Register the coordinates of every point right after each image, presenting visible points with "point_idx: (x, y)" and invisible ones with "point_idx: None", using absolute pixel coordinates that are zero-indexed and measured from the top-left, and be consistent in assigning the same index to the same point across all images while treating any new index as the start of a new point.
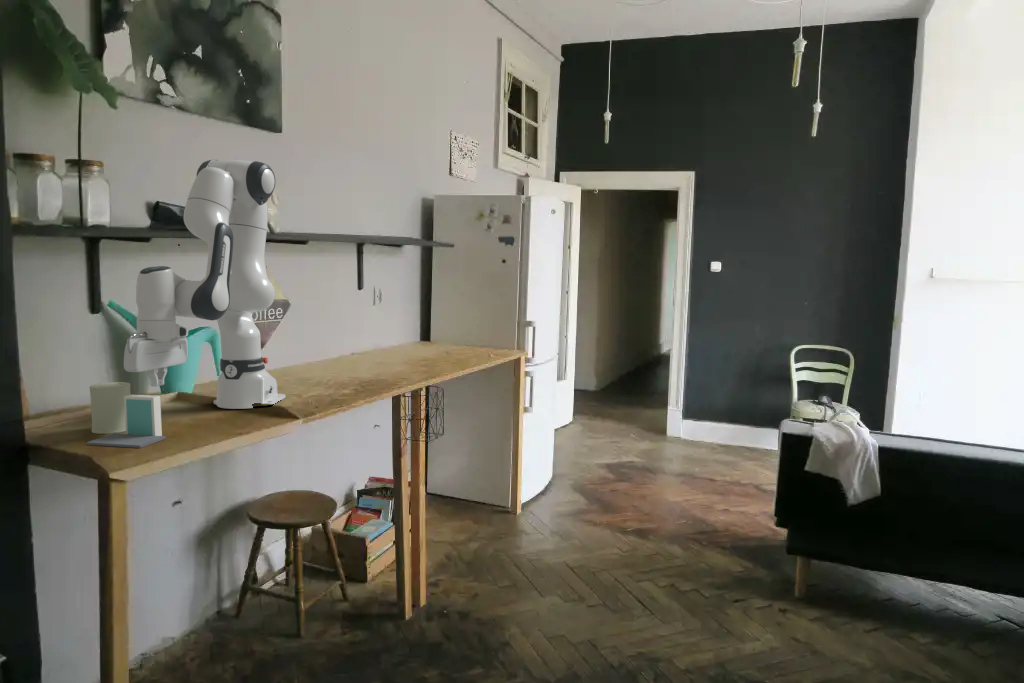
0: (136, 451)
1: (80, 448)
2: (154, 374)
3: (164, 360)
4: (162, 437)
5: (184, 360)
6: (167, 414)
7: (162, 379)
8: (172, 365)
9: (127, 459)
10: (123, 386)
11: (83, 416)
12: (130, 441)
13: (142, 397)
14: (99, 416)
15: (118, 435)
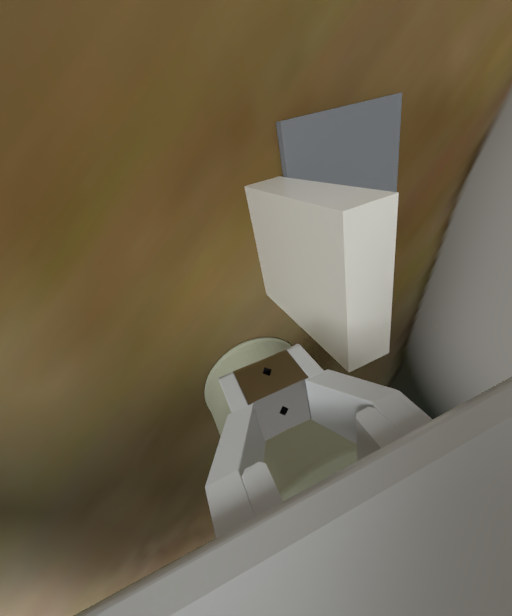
0: (427, 67)
1: (413, 257)
2: (387, 387)
3: (395, 595)
4: (297, 117)
5: None
6: (4, 476)
7: (250, 396)
8: (135, 586)
9: (502, 3)
10: (337, 458)
11: (190, 539)
12: (367, 178)
13: (392, 264)
14: None
15: None
